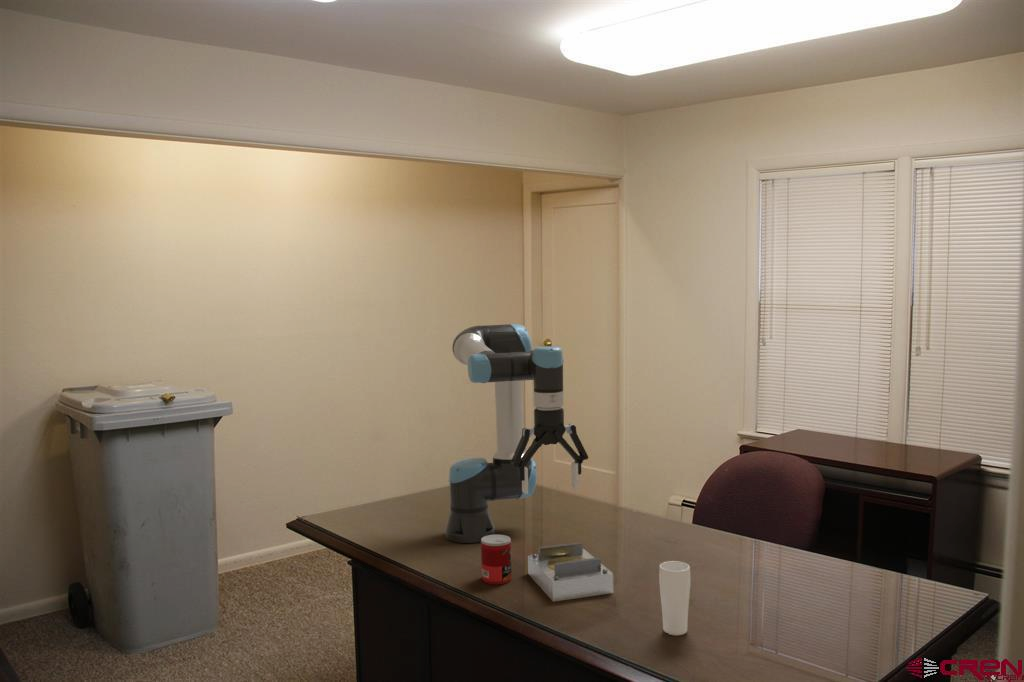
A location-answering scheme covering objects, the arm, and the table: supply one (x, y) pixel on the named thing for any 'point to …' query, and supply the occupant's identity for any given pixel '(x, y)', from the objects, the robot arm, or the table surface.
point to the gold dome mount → (569, 572)
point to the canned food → (496, 559)
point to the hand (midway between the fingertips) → (550, 490)
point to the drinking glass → (674, 596)
